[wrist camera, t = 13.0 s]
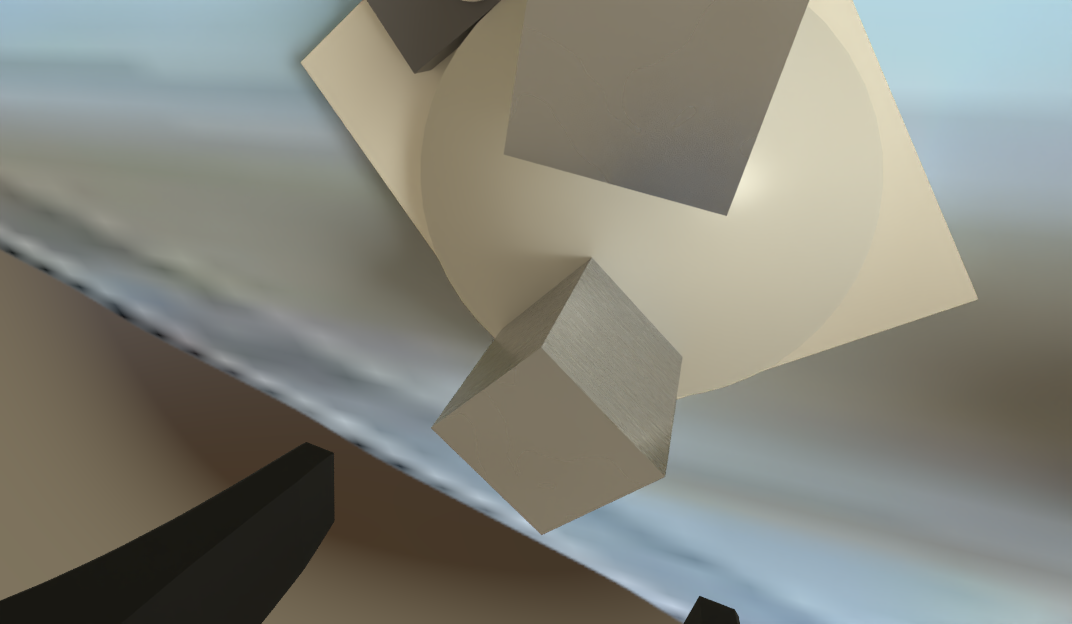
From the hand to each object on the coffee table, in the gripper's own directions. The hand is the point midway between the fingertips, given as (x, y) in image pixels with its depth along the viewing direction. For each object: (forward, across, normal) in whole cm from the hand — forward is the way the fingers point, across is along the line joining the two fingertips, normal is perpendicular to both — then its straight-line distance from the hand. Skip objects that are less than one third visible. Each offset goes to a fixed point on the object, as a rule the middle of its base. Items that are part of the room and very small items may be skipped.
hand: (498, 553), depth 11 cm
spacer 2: (+8, 0, 0) cm, 8 cm away
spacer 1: (+8, 0, -8) cm, 12 cm away
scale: (+10, 0, -4) cm, 11 cm away
